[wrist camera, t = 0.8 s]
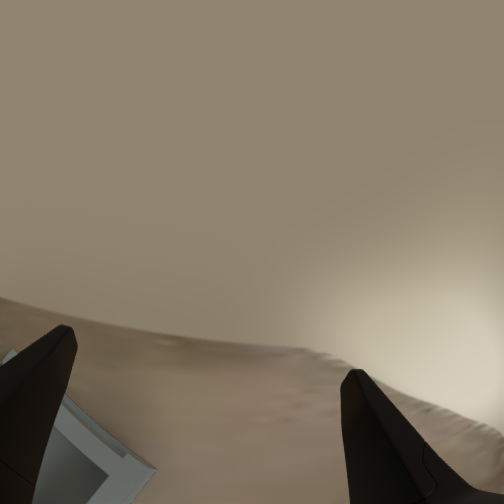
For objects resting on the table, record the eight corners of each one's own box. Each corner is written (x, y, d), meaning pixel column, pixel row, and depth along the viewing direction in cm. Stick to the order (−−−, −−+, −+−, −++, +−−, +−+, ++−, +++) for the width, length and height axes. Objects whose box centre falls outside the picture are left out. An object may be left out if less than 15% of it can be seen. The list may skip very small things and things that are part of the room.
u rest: (157, 469, 17) (148, 468, 13) (75, 568, 9) (49, 584, 5) (44, 371, 20) (17, 343, 16) (-29, 460, 11) (-67, 447, 7)
